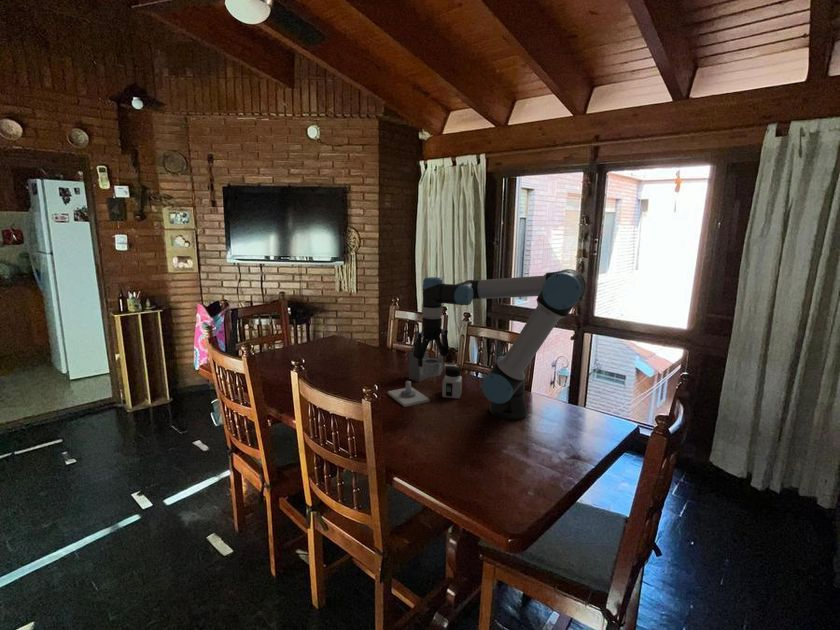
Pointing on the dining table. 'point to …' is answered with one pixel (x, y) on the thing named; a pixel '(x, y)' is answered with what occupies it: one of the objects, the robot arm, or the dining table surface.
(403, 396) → the shaft block
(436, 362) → the hub
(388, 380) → the dining table surface
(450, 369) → the container
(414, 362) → the perfume bottle
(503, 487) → the dining table surface
